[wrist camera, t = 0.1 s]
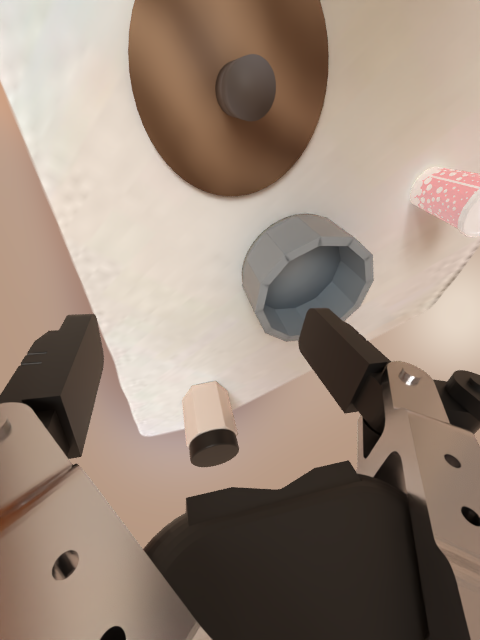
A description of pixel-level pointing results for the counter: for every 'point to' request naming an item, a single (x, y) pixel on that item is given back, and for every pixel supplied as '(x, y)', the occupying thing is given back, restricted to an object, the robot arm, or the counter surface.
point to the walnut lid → (229, 86)
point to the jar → (209, 425)
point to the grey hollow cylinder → (304, 273)
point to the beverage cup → (450, 197)
